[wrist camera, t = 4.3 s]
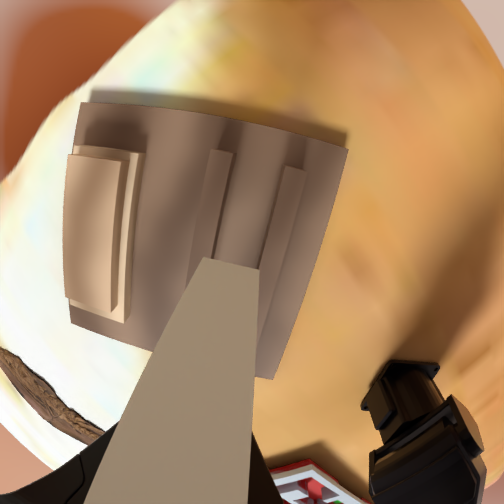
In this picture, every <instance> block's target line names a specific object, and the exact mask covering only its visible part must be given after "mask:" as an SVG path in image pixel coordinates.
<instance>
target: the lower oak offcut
mask: <svg viewBox="0 0 504 504" xmlns="http://www.w3.org/2000/svg"><path fill="white" fill-rule="evenodd" d="M73 154H86V155H94V156H101V157H108V158H115V159H122V160H128V161H130V163H129V170H128V176H127V183H126V191H125V199H124V207H123V217H122V227H121V239H120V254H119V275H118V305H117V307H116V308H115V309H114V310H113V311H112V312H111V313H108V312H105V311H103V310H100V309H97V308H94V307H91V306H88V305H86V304H83V303H80V302H77V301H75V300H72V299H69V300H70V305H73V306H75V307H78V308H81V309H83V310H86V311H89V312H92V313H94V314H97V315H100V316H103V317H106V318H109V319H112V320H114V321H117V322H120V323H125V321H126V320H127V319H128V317H129V316H130V297H131V276H132V261H133V248H134V237H135V227H136V218H137V210H138V202H139V195H140V188H141V181H142V175H143V169H144V163H145V157H146V153H142V152H135V151H128V150H121V149H114V148H106V147H98V146H89V145H74V150H73Z"/></svg>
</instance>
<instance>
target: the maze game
mask: <svg viewBox="0 0 504 504" xmlns="http://www.w3.org/2000/svg"><path fill="white" fill-rule="evenodd" d="M269 471H270V474H271V476H272V478H273V480H274V482H275V484H276V487H277V489H278V491H279V493H280V495H281V497H282V499H283V501H284V503H283V504H371V503H370V502H368V501H367V500H365V499H364V498H358V497H356V496H355V495H353V494H352V493H350V492H349V491H347V490H346V489H344V488H343V487H342V486H340V485H339V484H338V480H337V479H335V478H334V477H333V476H331V475H330V474H328V473H327V472H326V471H325V470H323V469H322V468H321V467H319V466H318V465H317V464H315V463H314V462H313V461H312V460H310V459H306V460H303V461H300V462H297V463H293V464H290V465H287V466H283V467H279V468H276V469H272V470H269Z"/></svg>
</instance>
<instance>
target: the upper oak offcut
mask: <svg viewBox="0 0 504 504" xmlns="http://www.w3.org/2000/svg"><path fill="white" fill-rule="evenodd" d="M129 163H130V161H128V160H122V159H115V158H108V157H101V156H94V155H86V154H69V155H68V159H67V168H66V178H65V190H64V206H63V271H64V287H65V297H67V298H69V299H72V300H75V301H77V302H80V303H83V304H86V305H88V306H91V307H94V308H97V309H100V310H103V311H105V312H108V313H111V312H112V311H113V310H114V309H115V308H116V307H117V305H118V275H119V254H120V239H121V227H122V217H123V207H124V199H125V191H126V183H127V176H128V170H129Z"/></svg>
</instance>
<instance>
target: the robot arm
mask: <svg viewBox="0 0 504 504" xmlns="http://www.w3.org/2000/svg"><path fill="white" fill-rule="evenodd" d="M439 369H440V366H439V364H438V363H428V362H414V361H402V360H391V361H389V362H388V363H387V364H386V366H385V368H384V369H383V371H382V373H381V374H380V376H379V378H378V379H377V381H376V382H375V384H374V386H373V387H372V389H371V390H370V392H369V393H368V395H367V396H366V398H365V399H364V401H363V402H362V404H361V405H360V406H361V410H363V411H370V414H371V417H372V420H373V423H374V427H375V429H376V430H379V432H380V435H381V438H382V441H383V444H384V445H383V446H381V447H380V448H378V449H377V450H373V451H372V452H370V453H369V494H370V495H371V498H372V500H373V501H374V503H375V504H481V502H482V496H483V491H484V486H485V480H486V473H487V469H486V466H485V464H484V462H483V460H482V458H481V456H480V454H481V453H482V452H483V451H484V446H483V442H482V439H481V435H480V432H479V429H478V426H477V424H476V422H475V420H474V419H473V417H472V416H471V414H470V412H469V411H468V409H467V408H466V407H465V406H464V405H463V404H462V403H461V402H459V401H458V400H457V399H456V398H455V397H454V396H453V395H452V394H451V395H450V396H449V397H447V398H446V400H444V398H443V396H442V394H441V393H440V391H439V389H438V387H437V386H436V384H435V382H434V381H433V378H434V377H435V375H436V374H437V372H438V371H439ZM118 423H119V421H118V422H117V423H116V424H115V425H114V426H112V427H111V428H110V429H109V430H107V431H106V432H105V433H104V434H102V435H101V436H100V437H99V438H97V439H96V440H95V441H94V442H92V443H91V444H90V445H89V446H87V447H86V448H85V449H84V450H82V451H81V452H80V453H79V454H80V455H79V454H77V455H76V456H74V457H73V458H72V459H71V460H69V461H68V462H66V463H65V464H64V465H62V466H61V467H59V468H58V469H56V470H54V471H53V472H51V473H49V474H48V475H46V476H44V477H42V478H40V479H38V480H37V481H34V482H32V483H30V484H29V485H26V486H24V487H22V488H20V489H18V490H16V491H13V492H10V493H6V494H0V504H84V501H85V499H86V496H87V494H88V492H89V489H90V487H91V484H92V482H93V480H94V477H95V475H96V472H97V470H98V468H99V465H100V463H101V461H102V459H103V456H104V454H105V452H106V450H107V447H108V445H109V443H110V441H111V438H112V436H113V434H114V432H115V430H116V427H117V425H118ZM283 503H284V501H283V499H282V497H281V495H280V493H279V491H278V489H277V487H276V484H275V482H274V480H273V478H272V476H271V474H270V471H269V469H268V467H267V465H266V463H265V460H264V458H263V456H262V453H261V451H260V449H259V447H258V444H257V442H256V440H255V437H254V435H253V432H252V434H251V452H250V469H249V485H248V501H247V504H283Z"/></svg>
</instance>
